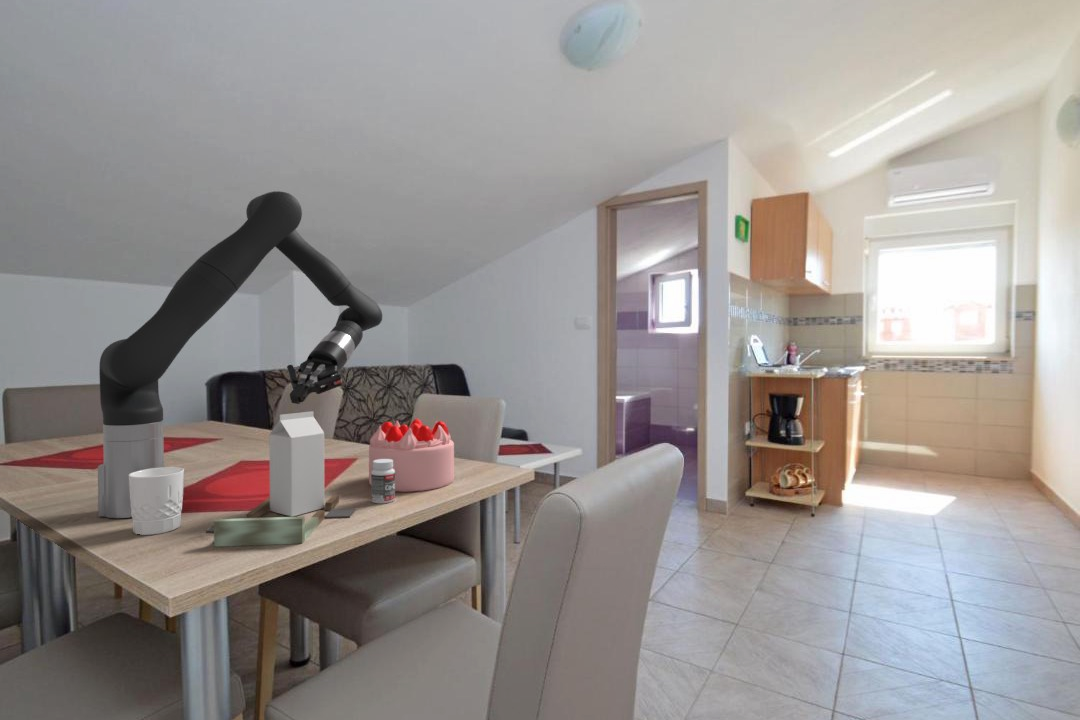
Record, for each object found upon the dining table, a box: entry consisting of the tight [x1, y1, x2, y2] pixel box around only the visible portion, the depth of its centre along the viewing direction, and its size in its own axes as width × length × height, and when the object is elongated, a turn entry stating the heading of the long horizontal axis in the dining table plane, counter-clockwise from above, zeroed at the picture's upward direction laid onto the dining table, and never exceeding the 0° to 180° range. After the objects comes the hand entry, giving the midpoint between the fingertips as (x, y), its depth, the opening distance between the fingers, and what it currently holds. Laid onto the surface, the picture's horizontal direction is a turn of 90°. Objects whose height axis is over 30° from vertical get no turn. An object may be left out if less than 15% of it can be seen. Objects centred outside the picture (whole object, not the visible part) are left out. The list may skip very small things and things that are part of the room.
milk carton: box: [268, 410, 325, 517], centre depth 105 cm, size 7×7×19 cm
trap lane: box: [213, 494, 340, 547], centre depth 98 cm, size 13×24×4 cm, turn 7°
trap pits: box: [205, 507, 356, 534], centre depth 99 cm, size 25×6×1 cm, turn 115°
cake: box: [368, 418, 455, 493], centre depth 129 cm, size 20×20×14 cm
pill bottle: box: [370, 459, 396, 504], centre depth 112 cm, size 5×5×8 cm
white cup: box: [128, 466, 185, 536], centre depth 94 cm, size 8×8×10 cm
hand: (294, 400), depth 113 cm, fingers closed
